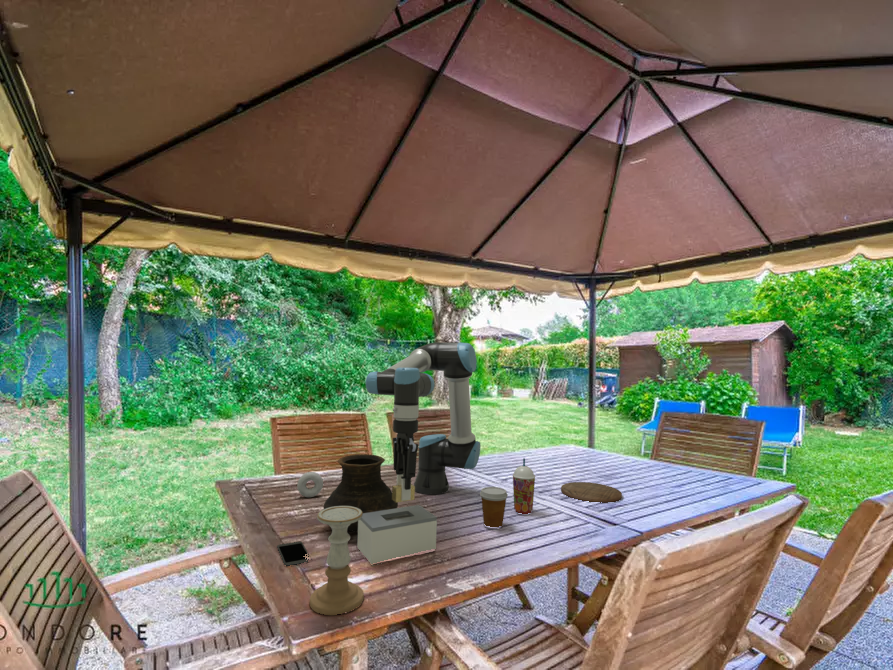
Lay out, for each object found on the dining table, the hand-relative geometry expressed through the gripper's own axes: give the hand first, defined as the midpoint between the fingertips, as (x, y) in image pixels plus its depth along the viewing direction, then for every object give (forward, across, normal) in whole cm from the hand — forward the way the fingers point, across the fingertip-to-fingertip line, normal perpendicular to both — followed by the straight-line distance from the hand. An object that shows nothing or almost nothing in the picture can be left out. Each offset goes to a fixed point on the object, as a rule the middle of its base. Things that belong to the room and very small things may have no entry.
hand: (403, 498), depth 132 cm
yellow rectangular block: (0, 0, 0) cm, 0 cm away
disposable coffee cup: (+15, -3, +36) cm, 39 cm away
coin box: (+15, 0, -2) cm, 15 cm away
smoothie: (+15, -9, +54) cm, 56 cm away
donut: (+15, -60, -13) cm, 64 cm away
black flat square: (+16, -11, -29) cm, 35 cm away
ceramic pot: (+15, -21, -5) cm, 27 cm away
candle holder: (+15, +18, -25) cm, 34 cm away
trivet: (+15, -14, +96) cm, 98 cm away
